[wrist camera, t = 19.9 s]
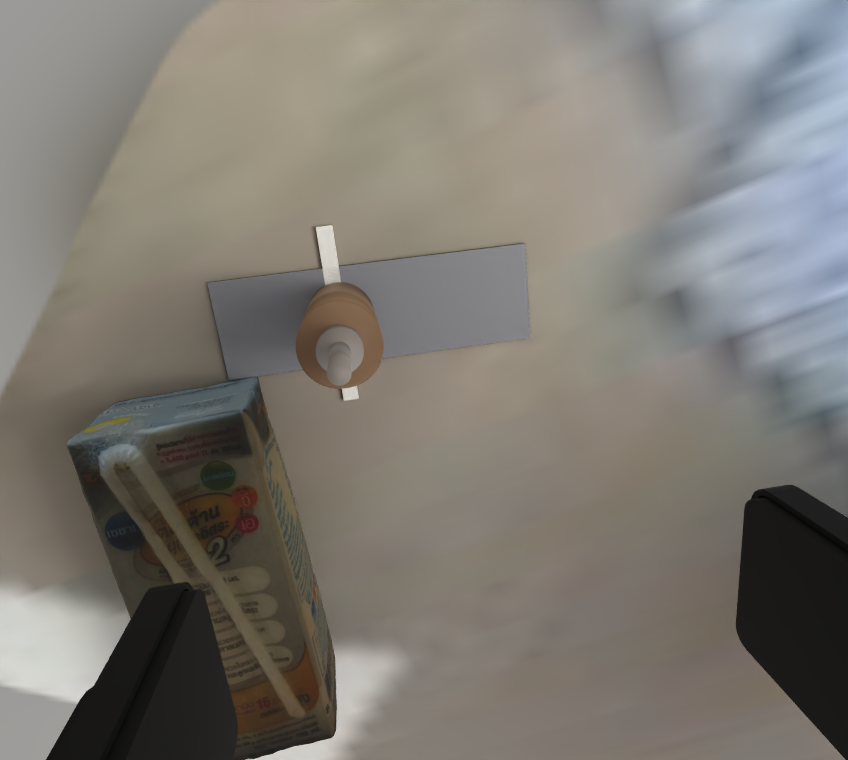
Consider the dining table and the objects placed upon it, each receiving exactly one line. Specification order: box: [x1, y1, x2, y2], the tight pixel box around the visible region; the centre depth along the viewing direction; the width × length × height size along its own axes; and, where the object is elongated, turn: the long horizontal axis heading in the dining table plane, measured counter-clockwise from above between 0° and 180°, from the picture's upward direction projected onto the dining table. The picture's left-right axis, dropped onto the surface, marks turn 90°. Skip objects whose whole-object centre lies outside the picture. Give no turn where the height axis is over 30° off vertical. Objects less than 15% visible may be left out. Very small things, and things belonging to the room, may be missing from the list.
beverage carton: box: [67, 377, 337, 760], centre depth 29 cm, size 8×19×7 cm, turn 9°
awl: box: [296, 282, 384, 389], centre depth 23 cm, size 3×3×11 cm
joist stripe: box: [207, 225, 530, 401], centre depth 29 cm, size 16×9×1 cm, turn 96°
